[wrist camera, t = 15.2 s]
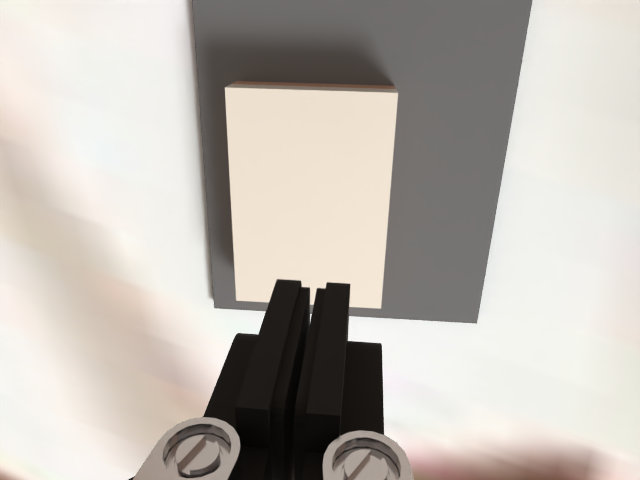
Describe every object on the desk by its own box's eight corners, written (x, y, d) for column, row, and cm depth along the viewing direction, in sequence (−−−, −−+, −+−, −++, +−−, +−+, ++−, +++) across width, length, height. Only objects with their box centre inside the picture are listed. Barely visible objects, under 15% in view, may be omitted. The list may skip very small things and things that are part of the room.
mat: (171, -349, 18) (166, -359, 17) (589, -356, 17) (595, -367, 16) (216, 303, 28) (214, 308, 28) (474, 318, 27) (476, 323, 27)
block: (394, 85, 22) (236, 81, 23) (398, 92, 20) (224, 87, 21) (379, 286, 26) (245, 279, 27) (380, 308, 24) (236, 300, 25)
